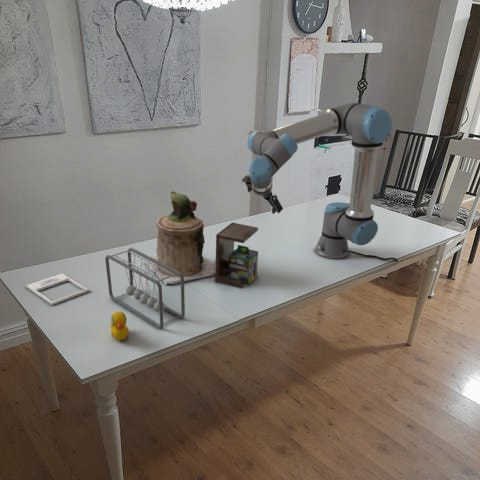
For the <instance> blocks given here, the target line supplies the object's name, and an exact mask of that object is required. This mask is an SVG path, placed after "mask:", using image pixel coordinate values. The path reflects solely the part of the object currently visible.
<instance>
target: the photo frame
mask: <svg viewBox="0 0 480 480" xmlns="http://www.w3.org/2000/svg"><path fill="white" fill-rule="evenodd" d="M65 282H70V283H71V284H73V285H75V286H76V287H78V288H80V289H81V290H79V291H77V292H74V293H71V294H68V295H66V296H63V297H61V298H58V299H56V300H53V301H52V300H51V298H48V297H47V296H46V295H44V294H42V293H41V292H39V291H43V290H45V289H48V288H51V287H54V286H57V285H60V284H63V283H65ZM26 289H28V290H29V291H31V292H33V293H34V294H36V295H37V296H38V297H40V298H41V299H43V300H44V301H45V302H47V303H48V304H50V305H51V306H54V305H56V304H59V303H62V302H64V301H67V300H70V299H73V298H75V297H78V296H81V295H83V294H86V293H88V292H89V289H88V288H87V287H86V286H84V285H82V284H80V283H79V282H78V281H76V280H74V279H72V278H70V277H69V276H67V275H65V274H64V273H59V274H56V275H53V276H50V277H46V278H44V279H40V280H38V281H35V282H32V283H29V284H26Z"/></svg>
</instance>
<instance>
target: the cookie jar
mask: <svg viewBox="0 0 480 480" xmlns="http://www.w3.org/2000/svg"><path fill="white" fill-rule="evenodd" d="M170 199H171V202H170V203H171V205H172V209H173V210H172V212H171V213H169V214H167V215H163V216H160V217H159V218H157V220H156V222H155V226H156V227H157V236H156V237H157V238H156V245H157V246H156V256H150V257H151V258H153V259H155V260H157V261H159V262H161V263H163V264H165V265H167V266H169V267H171V268H173V269H175V270H177V271H179V272H181V273H182V275H183V277H184V282H190V281H194V280H198V279H203V278H208V277H213V276H215V269H216V265H215V264H212V263H211V262H210V261H209V260H208V259H206V258H205V257H204V256H203V251H204V244H205V235H204V228H205V224H204V221H203V219H202V218H198V217H197V216H196V215H195V213H194V212H195V211H197V206H198V202H197V201H195V200H190V198H189V196H187V195H186V194H182V193H178V192H176V191H175V190H171V191H170ZM143 259H145V260H147V261H149V262H151V263H153V264H155V265H157V266H159V267H161V268H163V269H165V270H167V271H169V272H171V273H173V274H176V273H174V272H172V271H170V270H168V269H166V268H164V267H162V266H160V265H158V264H156V263H154V262H152V261H150V260H148V259H146V258H144V257H143ZM145 260H143V261H144V264H145V265H146V266H147V267H148V266H149V269H150V268H151V269H150V270H151V271H152V272H154V273H155V271H156V275H157V277H158V278H159V279H162V278H163V279H164V278H166V277H169V276H171V275H172V274H170V273H168V272H166V271H165V270H164V273H163V269H161V268H159V267H156V266H155V265H153V264H151V263H149V262H147V261H145ZM147 263H148V264H147ZM153 267H154V268H153ZM160 271H161V272H160ZM157 272H158V273H157ZM162 283H164V285H165V286H167V284H169V285H175V284H179V283H181V279H180V276H179V275H178V274H177V275H175V276H172V277H169V278H167V279H164V280H163V282H162Z"/></svg>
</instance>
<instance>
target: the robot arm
mask: <svg viewBox="0 0 480 480" xmlns="http://www.w3.org/2000/svg"><path fill="white" fill-rule="evenodd" d="M392 126H393V121H392V117H391V115H390V113H389V112H388V111H387V110H386V109H384V108H382V107H379V106H375V105H369V104H364V103H359V102H350V103H345V104H341V105H338V106H334V107H332V108H328V109H326V110H325V111H324V113H321V114H319V115H316V116H313V117H310V118H306V119H303V120H300V121H297V122H293V123H291V124H288V125H285V126H281V127H278V128H275V129H273V130H269V131H266V132H265V131H264V132H261V131H254V132H252V133H251V134H250V135H249V136H248V138H247V142H246V143H247V144H246V146H247V149H248V150H249V151H250V152H252V153H253V154H254V155H256V156H258V157H255V158H253V160H252V161H251V162H250V164H249V169H248V173H249V174H248V175H247V174H246V175H245V176H244V177H243V178H241V182H242V183H244V185H245V186H246V189H247V192H248V193H251V192H253V193H254V194H255V195H257V196H261V197H262V198H263V199H264V200H266V201H267V202H268V204H269V205H270V206H271V214H273V215H275V213H277V214H281V212H282V211H283V210H284V207H283V205H282V204H281V202H280V200H279V198H278V196H277V194H273V192H272V191H271V190H272V187H273V185H272V178H273V176H275V174H277V173H278V171H280V169H281V168H282V167H283V166H284V165H286V163H288V162H289V160H290V159H291V158H292V157H293V156H294V155H295V154H296V152H297V151H298V149H299V147H298V144H302V143H305V142H308V141H311V140H314V139H318V138H320V137H323V136H326V135H329V136H336V135H339V134H340V135H347V136H351V143H350V145H351V146H352V147H353V148H354V156H353V166H352V177H351V187H350V198H349V203H348V202H341V201H340V202H339V201H337V202H330V203H328V204H327V205H326V206H325V210H324V214H323V221H322V228H321V234H320V237H319V238H318V241H317V243H316V244H315V248H314V249H315V250H314V252H315V254H316V255H318V256H320V257H323V258H326V259H332V260H340V259H344V258H346V257H348V255H349V254H354V255H358V256H361V257H366V258H375V259H378V260H383V261H391V260H394V261H395V262H399V260H398V259H397V258H395V257H381V256H378V255H373V254H365V253H360V252H357V251H353V250H349V243H348V241H349V242H350V243H352V244H353V245H354V244H355V245H357V246H365V245H368V244H369V243H370V242H372V240H373V239H375V237H376V236H377V234H378V229H379V225H378V223H377V222H376V221H375V220H374V217H375V216H374V214H375V212H374V210H373V209H372V202H373V192H374V185H375V176H376V169H377V160H378V153H379V149H381V147H382V146H383V145H384V142H385V141H386V140H387V139H388V138H389V136H390V134H391V133H392V132H391V131H392Z"/></svg>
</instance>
